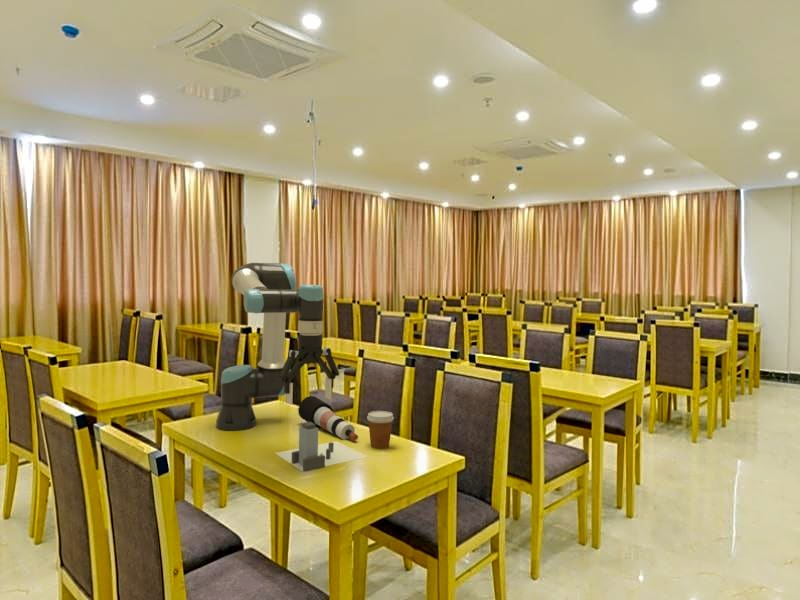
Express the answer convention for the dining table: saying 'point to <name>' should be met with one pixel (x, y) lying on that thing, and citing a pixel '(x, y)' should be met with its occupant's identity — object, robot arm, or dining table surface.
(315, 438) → the block
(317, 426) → the cable
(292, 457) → the routing panel
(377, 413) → the disposable coffee cup
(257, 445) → the dining table surface
